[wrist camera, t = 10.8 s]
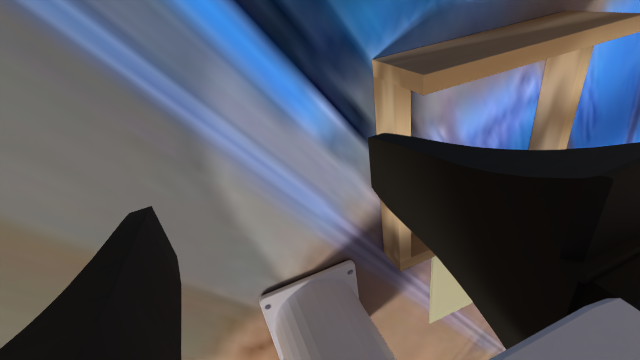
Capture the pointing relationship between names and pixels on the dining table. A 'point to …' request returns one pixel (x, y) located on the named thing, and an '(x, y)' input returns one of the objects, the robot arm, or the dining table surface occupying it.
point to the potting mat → (444, 292)
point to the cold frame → (484, 60)
